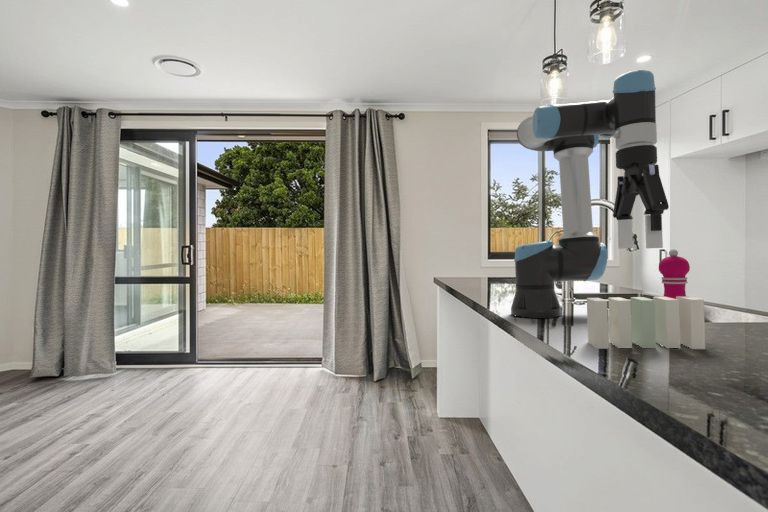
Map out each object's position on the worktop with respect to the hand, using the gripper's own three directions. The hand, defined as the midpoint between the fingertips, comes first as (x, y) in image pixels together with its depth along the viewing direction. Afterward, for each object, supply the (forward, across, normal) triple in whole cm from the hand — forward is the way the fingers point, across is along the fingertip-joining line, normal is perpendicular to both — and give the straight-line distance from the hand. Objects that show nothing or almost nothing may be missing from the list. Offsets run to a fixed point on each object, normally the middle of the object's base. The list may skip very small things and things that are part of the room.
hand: (638, 248), depth 91 cm
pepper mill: (+21, -10, +12) cm, 26 cm away
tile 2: (+21, 0, -4) cm, 21 cm away
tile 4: (+21, 0, +5) cm, 21 cm away
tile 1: (+21, 0, -9) cm, 22 cm away
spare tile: (+21, 0, 0) cm, 21 cm away
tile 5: (+21, 0, +9) cm, 23 cm away
